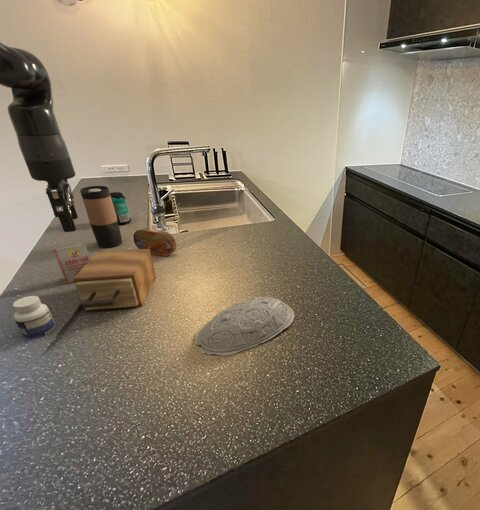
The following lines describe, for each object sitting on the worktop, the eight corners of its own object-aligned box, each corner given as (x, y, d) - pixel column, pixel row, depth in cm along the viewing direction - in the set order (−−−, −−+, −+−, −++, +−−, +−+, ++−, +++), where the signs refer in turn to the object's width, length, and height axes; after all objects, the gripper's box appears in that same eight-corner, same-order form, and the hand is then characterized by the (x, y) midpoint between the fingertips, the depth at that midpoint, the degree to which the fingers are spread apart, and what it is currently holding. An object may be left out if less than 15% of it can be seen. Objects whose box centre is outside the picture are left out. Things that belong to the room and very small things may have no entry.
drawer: (130, 319, 74) (122, 292, 70) (74, 324, 71) (63, 296, 67) (151, 278, 90) (145, 255, 86) (106, 281, 87) (98, 257, 83)
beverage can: (118, 218, 129) (111, 191, 124) (135, 220, 129) (128, 192, 124) (106, 224, 123) (98, 195, 117) (124, 226, 123) (116, 197, 117)
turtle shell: (307, 320, 79) (304, 298, 76) (210, 371, 64) (203, 346, 61) (276, 297, 89) (273, 277, 87) (187, 336, 75) (180, 313, 72)
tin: (135, 250, 106) (129, 228, 102) (142, 247, 108) (137, 225, 105) (173, 258, 103) (168, 235, 99) (179, 254, 106) (175, 232, 102)
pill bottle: (25, 335, 68) (7, 299, 64) (57, 325, 71) (41, 291, 67) (27, 349, 65) (8, 312, 60) (60, 337, 68) (44, 302, 64)
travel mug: (121, 237, 114) (107, 184, 105) (125, 245, 109) (110, 190, 100) (96, 242, 109) (78, 187, 100) (98, 250, 104) (80, 193, 95)
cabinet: (142, 305, 80) (133, 274, 76) (85, 310, 77) (73, 278, 72) (156, 277, 92) (149, 248, 88) (107, 280, 89) (98, 250, 85)
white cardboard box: (65, 278, 88) (52, 247, 84) (93, 271, 93) (83, 241, 88) (66, 283, 86) (54, 252, 81) (96, 276, 90) (86, 246, 86)
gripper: (29, 150, 70) (54, 217, 77) (17, 163, 60) (47, 238, 67) (71, 150, 74) (91, 213, 81) (67, 161, 64) (90, 232, 71)
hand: (71, 224), depth 74 cm, fingers open, 8 cm apart
